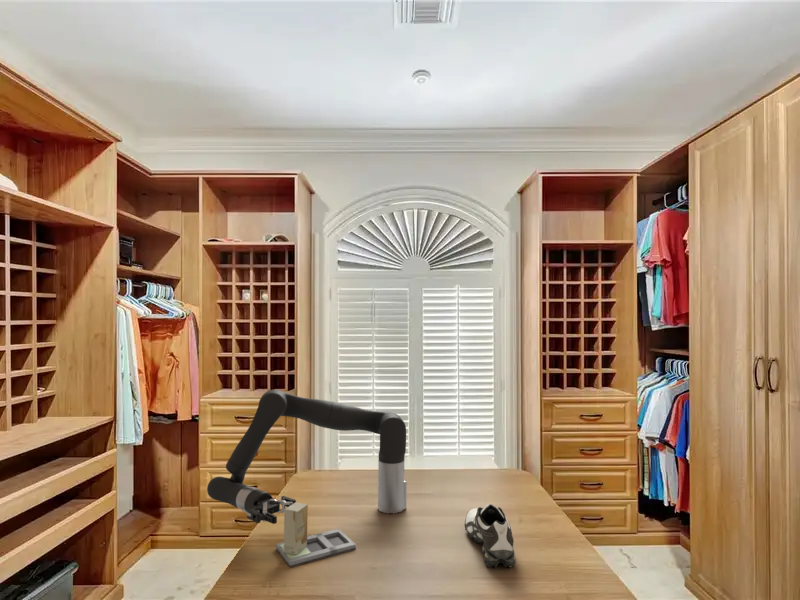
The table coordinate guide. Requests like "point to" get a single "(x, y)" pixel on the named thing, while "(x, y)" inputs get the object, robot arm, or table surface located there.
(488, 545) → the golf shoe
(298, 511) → the skincare box
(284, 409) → the robot arm
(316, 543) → the board
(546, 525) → the table surface
